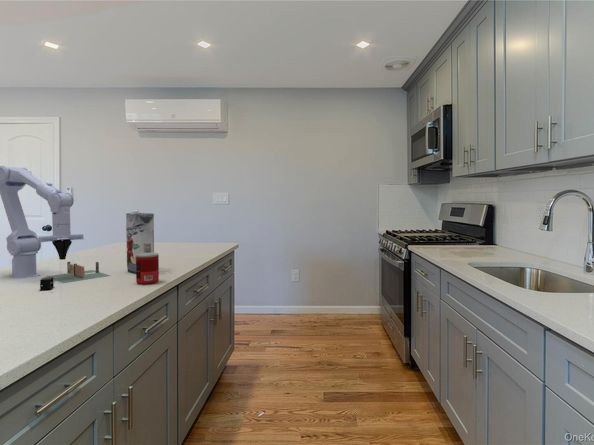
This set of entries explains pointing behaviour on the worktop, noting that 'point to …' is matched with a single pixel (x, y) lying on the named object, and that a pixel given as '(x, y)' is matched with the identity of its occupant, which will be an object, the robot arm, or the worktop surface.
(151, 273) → the canned food
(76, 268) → the gate panel
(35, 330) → the worktop surface
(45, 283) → the black small block
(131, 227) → the juice carton
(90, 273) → the card
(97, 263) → the tan and grey block
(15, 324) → the worktop surface
